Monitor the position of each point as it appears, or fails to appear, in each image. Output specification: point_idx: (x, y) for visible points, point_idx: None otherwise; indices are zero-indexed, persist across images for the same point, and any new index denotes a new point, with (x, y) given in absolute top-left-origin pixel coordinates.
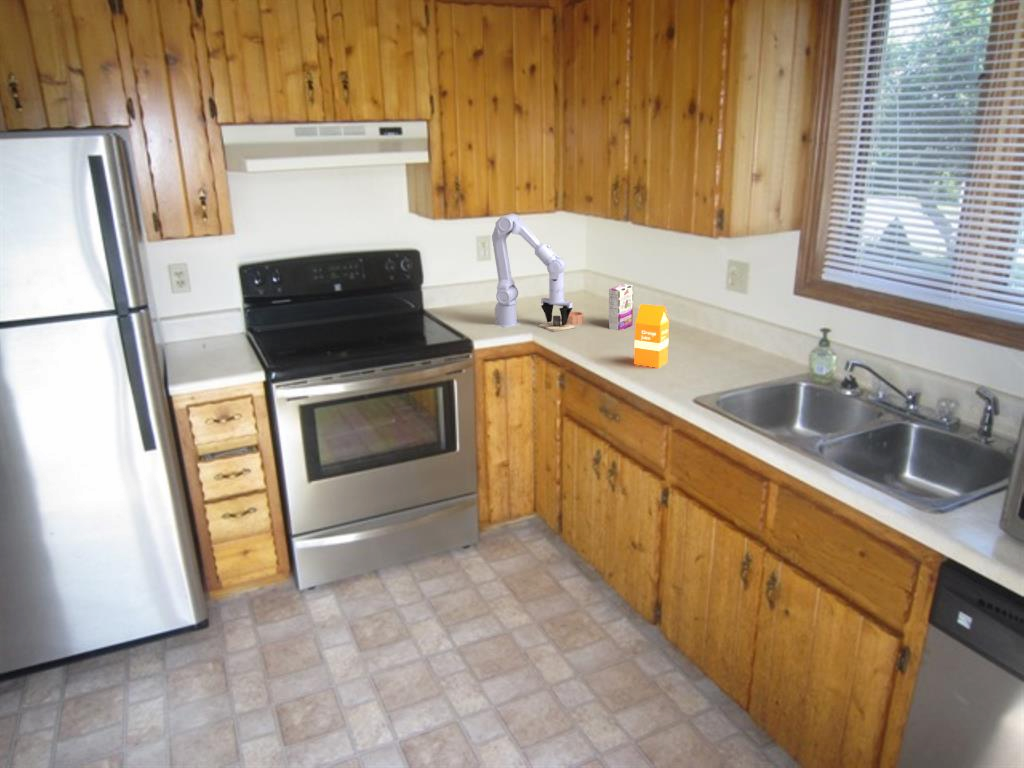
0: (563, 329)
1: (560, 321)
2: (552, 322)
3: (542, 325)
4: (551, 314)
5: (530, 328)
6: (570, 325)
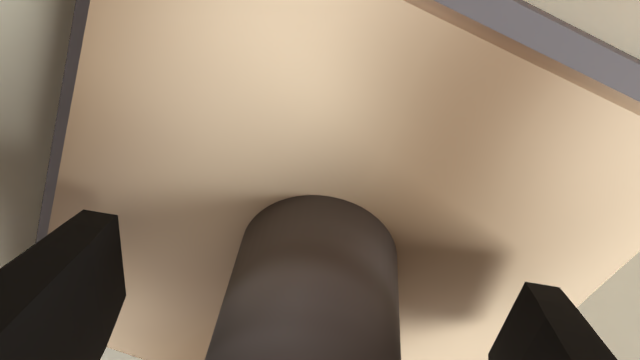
0: None
1: (392, 297)
2: (88, 111)
3: (115, 343)
4: (15, 342)
5: None
6: (624, 168)
